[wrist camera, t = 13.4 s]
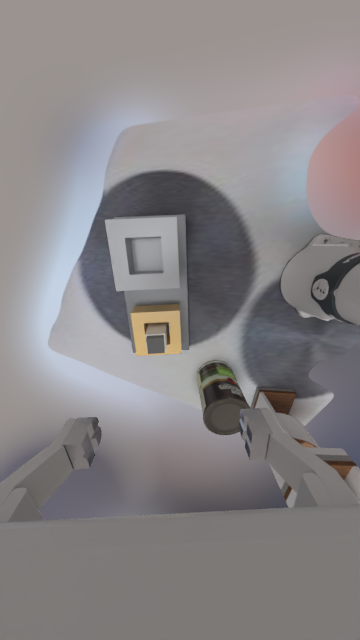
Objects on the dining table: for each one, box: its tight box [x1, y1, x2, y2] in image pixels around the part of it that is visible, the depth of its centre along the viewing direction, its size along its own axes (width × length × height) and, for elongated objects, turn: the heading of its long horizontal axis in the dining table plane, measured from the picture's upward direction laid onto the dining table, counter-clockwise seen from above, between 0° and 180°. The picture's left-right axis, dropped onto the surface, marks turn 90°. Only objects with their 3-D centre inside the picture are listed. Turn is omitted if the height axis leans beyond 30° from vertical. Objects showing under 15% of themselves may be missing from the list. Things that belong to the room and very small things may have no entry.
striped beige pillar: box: [251, 387, 360, 508], centre depth 41 cm, size 11×11×35 cm
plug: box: [145, 322, 168, 354], centre depth 40 cm, size 4×4×10 cm
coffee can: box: [197, 361, 251, 435], centre depth 47 cm, size 10×10×14 cm
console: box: [105, 215, 189, 356], centre depth 38 cm, size 14×30×14 cm, turn 2°
